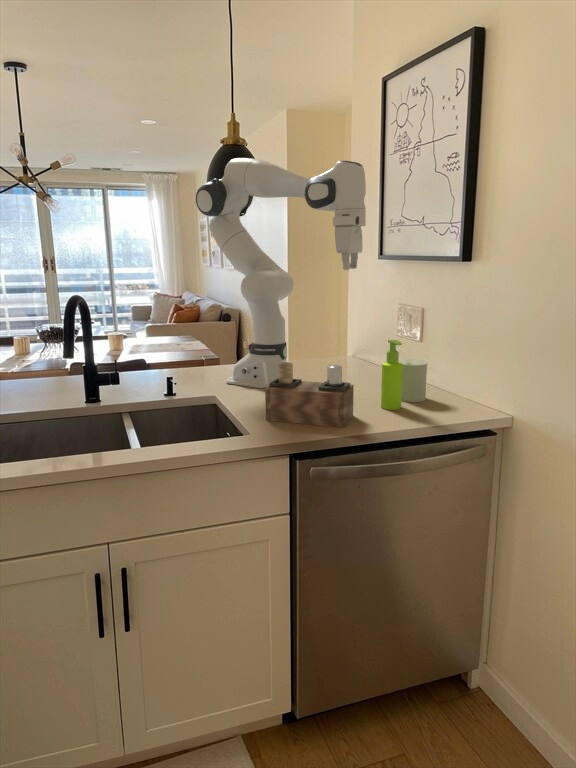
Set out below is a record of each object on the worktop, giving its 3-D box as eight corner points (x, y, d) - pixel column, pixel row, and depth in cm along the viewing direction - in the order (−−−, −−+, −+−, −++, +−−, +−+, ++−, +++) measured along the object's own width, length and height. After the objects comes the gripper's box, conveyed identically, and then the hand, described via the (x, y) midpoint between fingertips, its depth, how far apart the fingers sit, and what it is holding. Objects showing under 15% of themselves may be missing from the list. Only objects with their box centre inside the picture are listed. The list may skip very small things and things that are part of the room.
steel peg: (325, 396, 151) (325, 367, 149) (329, 393, 155) (329, 364, 153) (339, 397, 150) (340, 368, 148) (343, 394, 153) (343, 365, 151)
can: (390, 399, 174) (392, 361, 171) (402, 393, 181) (403, 356, 178) (419, 403, 169) (421, 364, 166) (430, 397, 176) (432, 359, 173)
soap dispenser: (387, 411, 161) (390, 342, 156) (377, 405, 168) (379, 339, 163) (406, 409, 163) (408, 341, 158) (395, 403, 169) (397, 338, 165)
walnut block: (265, 420, 155) (265, 384, 152) (279, 409, 165) (279, 376, 162) (343, 427, 147) (344, 390, 145) (353, 415, 158) (353, 381, 155)
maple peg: (276, 393, 156) (276, 364, 154) (281, 389, 159) (281, 362, 157) (290, 394, 154) (289, 365, 152) (294, 390, 158) (294, 362, 156)
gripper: (347, 222, 172) (347, 268, 175) (331, 219, 153) (331, 270, 157) (367, 221, 170) (367, 267, 173) (353, 218, 151) (353, 270, 155)
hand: (350, 269), depth 165 cm, fingers open, 8 cm apart
